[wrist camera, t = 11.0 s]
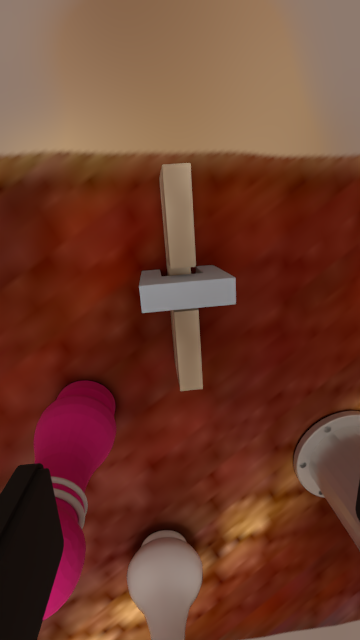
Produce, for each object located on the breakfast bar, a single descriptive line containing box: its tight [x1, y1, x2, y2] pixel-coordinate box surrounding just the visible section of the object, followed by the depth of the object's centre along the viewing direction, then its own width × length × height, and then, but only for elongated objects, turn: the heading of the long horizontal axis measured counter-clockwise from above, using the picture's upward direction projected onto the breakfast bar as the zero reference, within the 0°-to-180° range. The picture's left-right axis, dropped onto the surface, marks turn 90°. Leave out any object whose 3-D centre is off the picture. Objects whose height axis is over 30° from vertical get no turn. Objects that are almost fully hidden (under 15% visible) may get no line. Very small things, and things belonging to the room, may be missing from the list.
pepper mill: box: [34, 380, 116, 620], centre depth 23 cm, size 7×7×20 cm
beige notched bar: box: [159, 163, 203, 391], centre depth 26 cm, size 2×18×6 cm, turn 4°
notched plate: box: [139, 265, 236, 313], centre depth 25 cm, size 2×7×8 cm, turn 94°
